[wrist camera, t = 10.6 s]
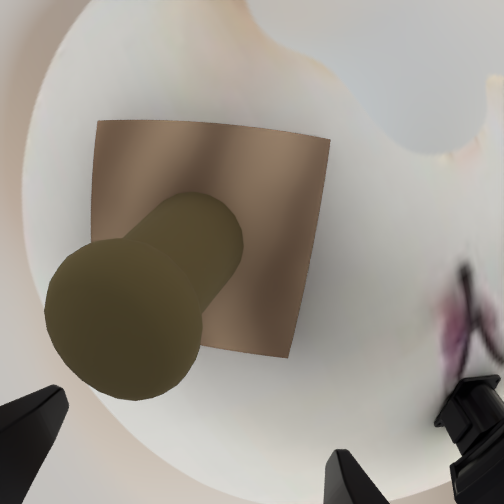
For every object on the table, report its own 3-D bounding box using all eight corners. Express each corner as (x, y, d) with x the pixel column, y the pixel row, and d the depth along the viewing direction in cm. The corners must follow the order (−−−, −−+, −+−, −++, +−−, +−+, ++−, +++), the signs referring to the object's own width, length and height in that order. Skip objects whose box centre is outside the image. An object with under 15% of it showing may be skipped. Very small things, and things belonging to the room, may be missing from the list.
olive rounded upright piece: (224, 304, 18) (176, 451, 8) (136, 269, 18) (25, 372, 8) (259, 213, 17) (237, 304, 6) (160, 177, 16) (19, 209, 6)
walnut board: (325, 141, 17) (330, 139, 15) (287, 345, 21) (287, 358, 19) (109, 122, 17) (97, 120, 15) (106, 311, 21) (97, 321, 20)
